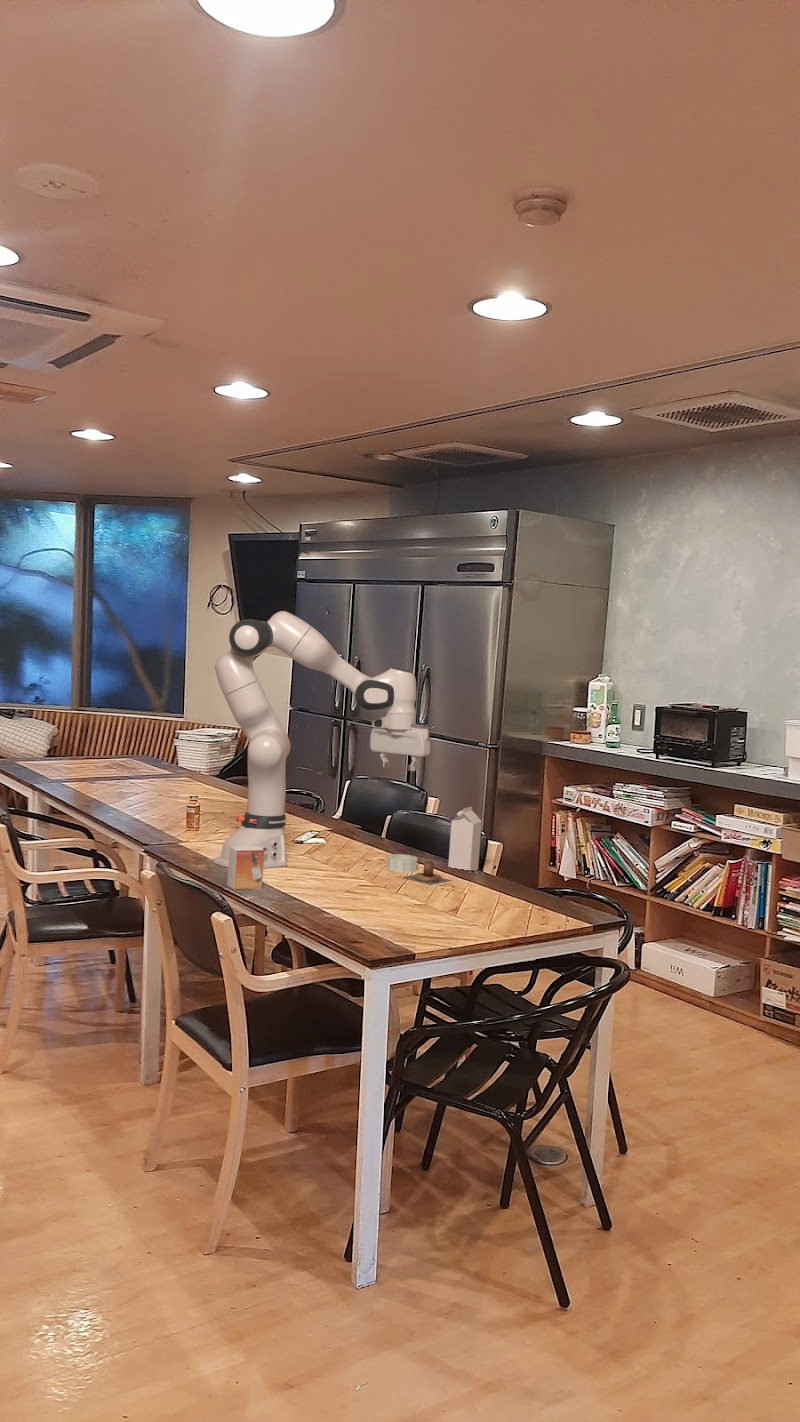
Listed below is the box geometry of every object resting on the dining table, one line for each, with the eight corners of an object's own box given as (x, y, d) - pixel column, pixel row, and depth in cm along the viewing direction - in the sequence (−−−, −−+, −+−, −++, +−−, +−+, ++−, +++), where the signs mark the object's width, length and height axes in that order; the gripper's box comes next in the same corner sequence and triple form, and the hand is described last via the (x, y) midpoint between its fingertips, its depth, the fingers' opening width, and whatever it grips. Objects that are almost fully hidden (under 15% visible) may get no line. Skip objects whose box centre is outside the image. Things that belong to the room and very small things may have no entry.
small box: (233, 890, 284) (235, 850, 283) (226, 885, 289) (228, 846, 288) (262, 889, 288) (265, 849, 287) (255, 884, 293) (257, 845, 292)
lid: (430, 883, 306) (431, 865, 306) (409, 878, 311) (410, 861, 310) (446, 880, 312) (447, 862, 312) (425, 875, 317) (426, 858, 316)
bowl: (403, 875, 317) (404, 861, 316) (381, 869, 322) (382, 856, 322) (422, 871, 323) (423, 858, 323) (399, 866, 329) (400, 853, 328)
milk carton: (478, 870, 331) (482, 807, 330) (469, 873, 325) (474, 810, 324) (456, 866, 334) (460, 805, 333) (447, 870, 328) (452, 807, 326)
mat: (430, 886, 304) (430, 884, 304) (400, 878, 311) (400, 877, 311) (452, 881, 312) (452, 880, 312) (422, 874, 319) (422, 873, 319)
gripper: (435, 724, 319) (433, 771, 320) (380, 720, 331) (379, 765, 332) (422, 725, 314) (421, 773, 315) (367, 720, 326) (366, 766, 327)
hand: (399, 769), depth 324 cm, fingers open, 8 cm apart
